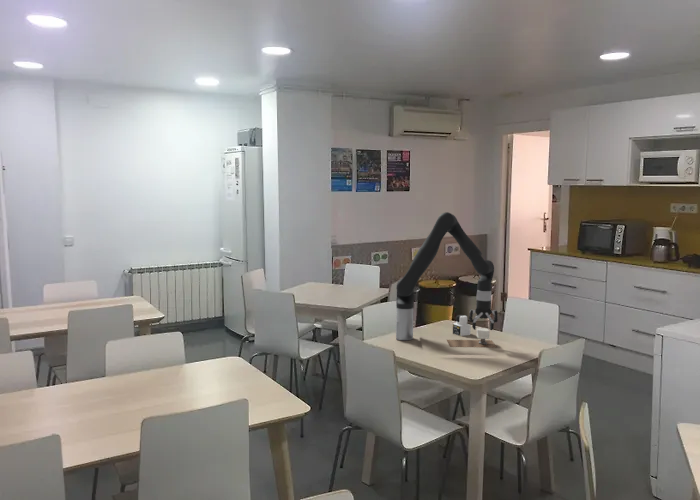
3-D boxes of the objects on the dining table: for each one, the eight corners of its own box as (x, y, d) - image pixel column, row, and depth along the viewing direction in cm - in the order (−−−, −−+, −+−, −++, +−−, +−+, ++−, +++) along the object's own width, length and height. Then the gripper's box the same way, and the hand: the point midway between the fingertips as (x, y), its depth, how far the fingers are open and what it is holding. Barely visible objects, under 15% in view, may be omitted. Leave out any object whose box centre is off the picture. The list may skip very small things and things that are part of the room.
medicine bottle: (452, 335, 313) (452, 314, 312) (462, 334, 316) (463, 313, 315) (460, 338, 307) (460, 317, 305) (470, 337, 310) (471, 316, 308)
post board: (449, 349, 285) (450, 333, 284) (446, 342, 299) (446, 326, 298) (497, 350, 284) (497, 334, 283) (491, 343, 298) (492, 327, 297)
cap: (478, 338, 288) (478, 331, 288) (476, 335, 294) (476, 328, 293) (489, 338, 288) (489, 331, 287) (487, 335, 293) (487, 328, 293)
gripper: (471, 300, 285) (470, 331, 287) (499, 300, 284) (498, 331, 286) (468, 297, 292) (467, 327, 294) (496, 297, 292) (495, 328, 293)
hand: (482, 329), depth 290 cm, fingers open, 8 cm apart
